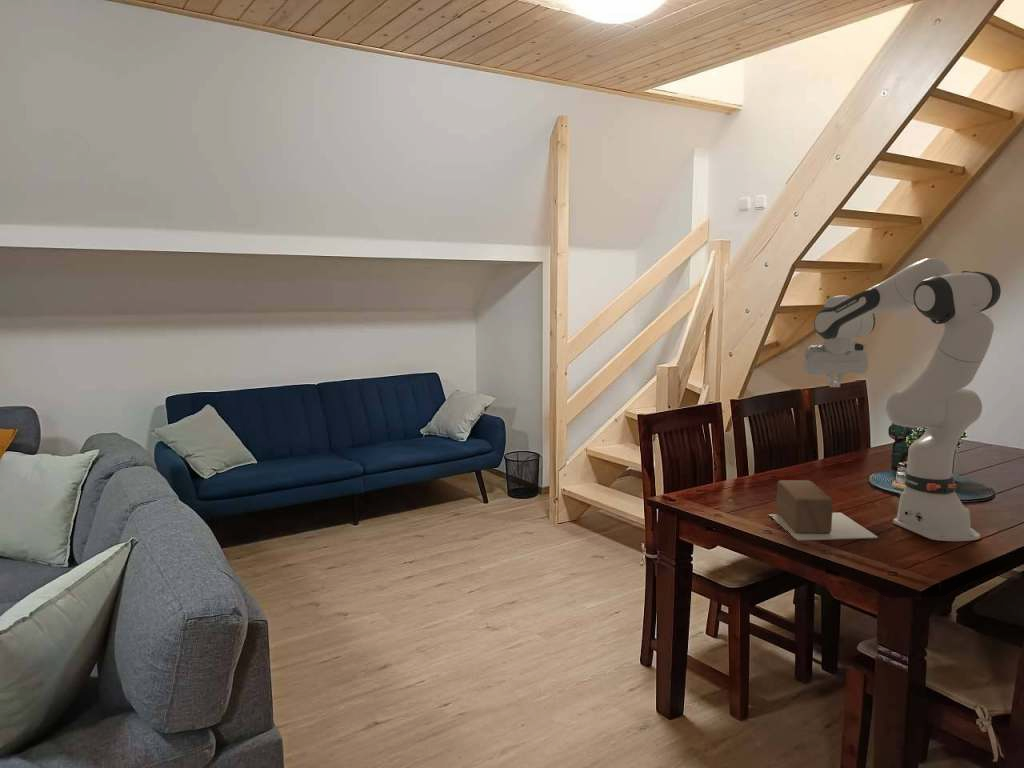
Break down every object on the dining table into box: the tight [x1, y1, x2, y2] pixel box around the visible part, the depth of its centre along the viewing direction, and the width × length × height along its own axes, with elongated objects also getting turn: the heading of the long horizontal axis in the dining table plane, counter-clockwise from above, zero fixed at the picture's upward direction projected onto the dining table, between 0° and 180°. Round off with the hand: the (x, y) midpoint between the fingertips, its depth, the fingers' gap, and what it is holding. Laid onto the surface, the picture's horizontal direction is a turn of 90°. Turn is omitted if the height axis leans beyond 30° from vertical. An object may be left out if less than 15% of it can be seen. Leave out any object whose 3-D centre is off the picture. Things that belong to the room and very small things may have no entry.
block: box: [776, 479, 834, 533], centre depth 210 cm, size 10×10×20 cm
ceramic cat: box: [887, 421, 914, 469], centre depth 264 cm, size 20×6×20 cm, turn 37°
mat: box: [767, 512, 879, 541], centre depth 208 cm, size 21×22×1 cm
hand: (834, 387), depth 242 cm, fingers closed
